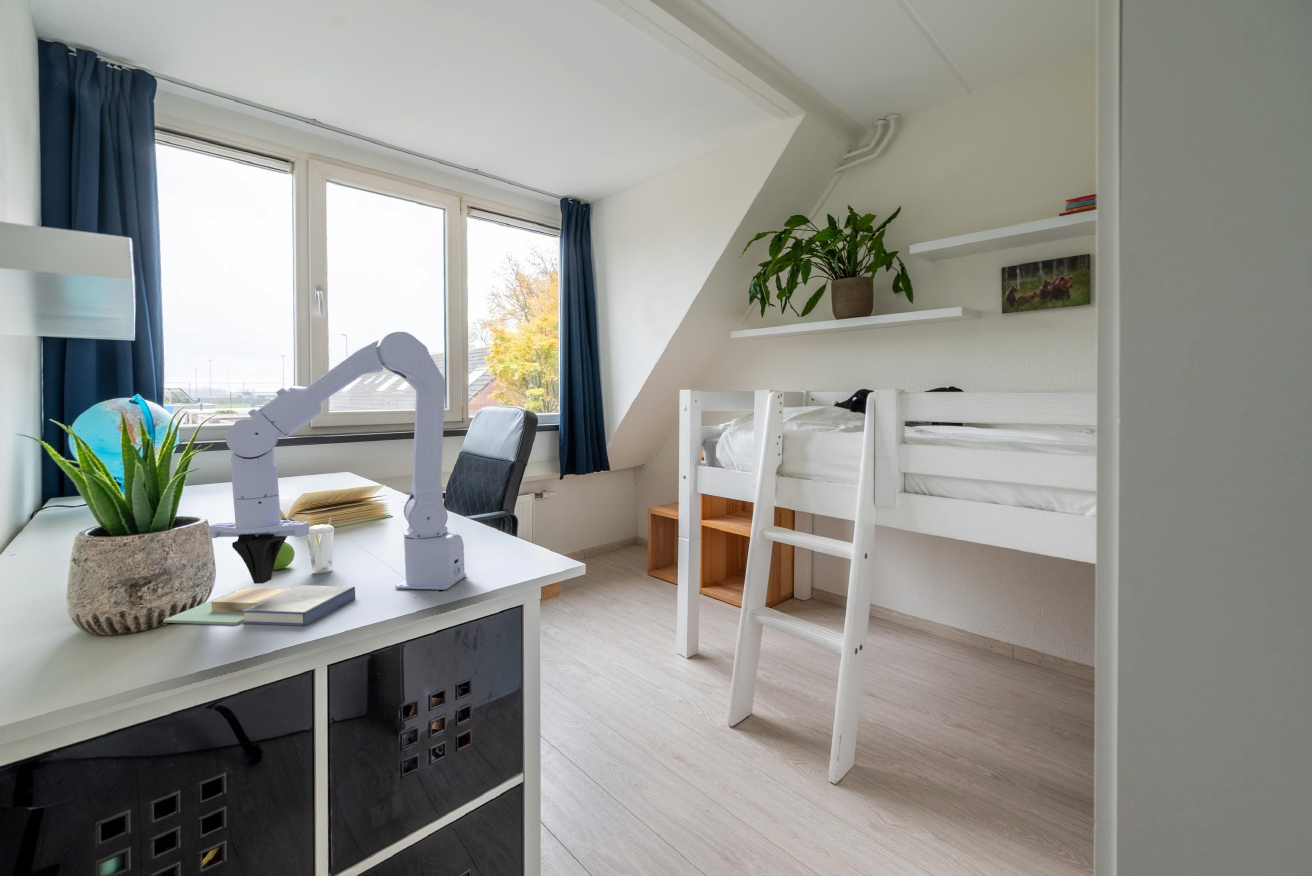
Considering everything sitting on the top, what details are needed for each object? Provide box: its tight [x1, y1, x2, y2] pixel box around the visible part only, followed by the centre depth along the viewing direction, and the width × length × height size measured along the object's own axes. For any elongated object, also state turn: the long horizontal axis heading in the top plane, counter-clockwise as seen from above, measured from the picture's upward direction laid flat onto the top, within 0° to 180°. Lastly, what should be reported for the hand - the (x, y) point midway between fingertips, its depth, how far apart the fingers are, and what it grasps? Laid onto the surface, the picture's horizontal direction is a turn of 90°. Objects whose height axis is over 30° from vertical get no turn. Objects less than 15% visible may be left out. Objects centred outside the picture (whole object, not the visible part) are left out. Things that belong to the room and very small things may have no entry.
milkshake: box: [306, 516, 335, 575], centre depth 104 cm, size 5×5×10 cm
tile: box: [211, 587, 289, 612], centre depth 86 cm, size 8×6×2 cm
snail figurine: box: [273, 515, 296, 571], centre depth 105 cm, size 5×6×12 cm
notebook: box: [242, 584, 356, 627], centre depth 85 cm, size 10×11×2 cm
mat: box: [163, 591, 245, 626], centre depth 86 cm, size 12×12×1 cm
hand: (262, 581), depth 85 cm, fingers closed
